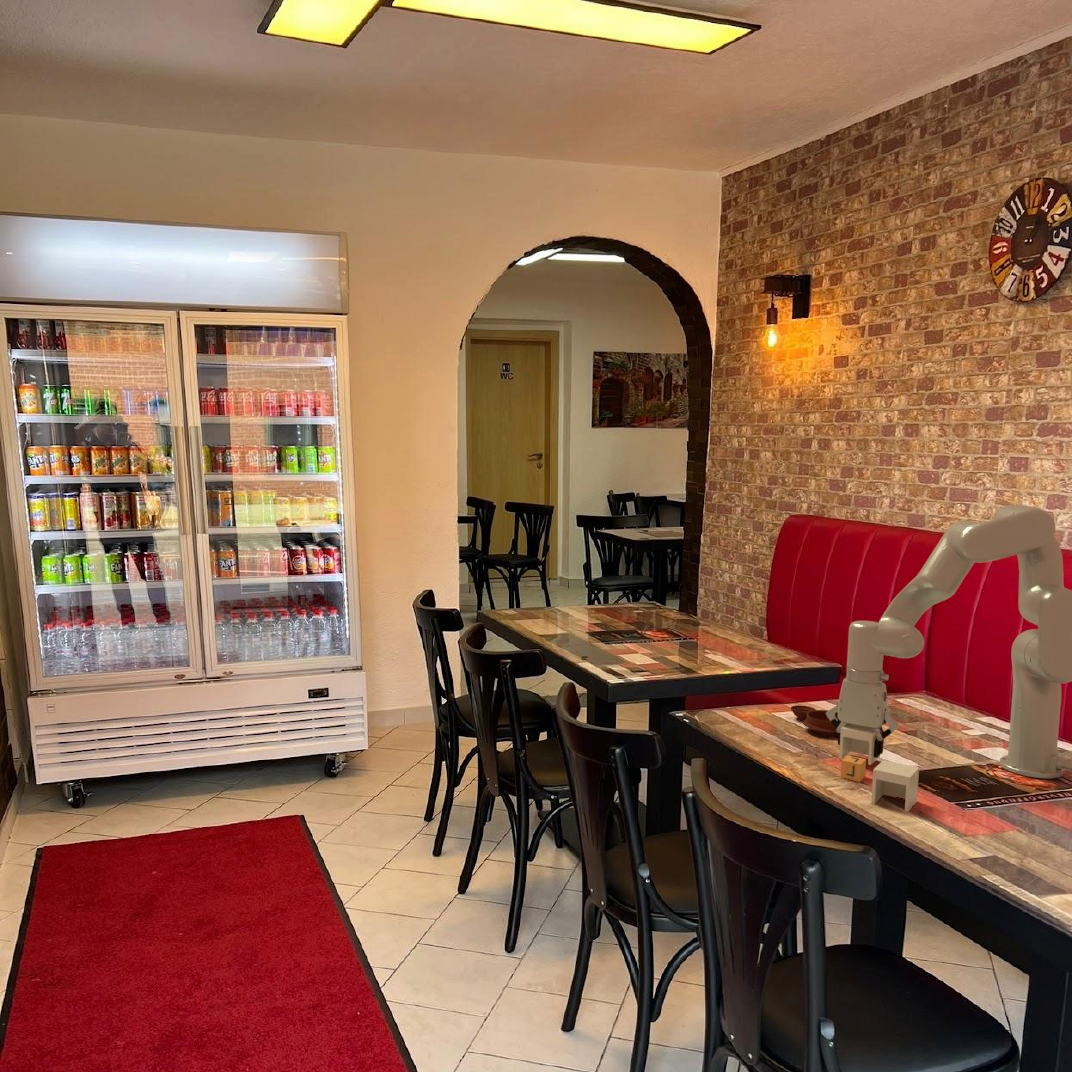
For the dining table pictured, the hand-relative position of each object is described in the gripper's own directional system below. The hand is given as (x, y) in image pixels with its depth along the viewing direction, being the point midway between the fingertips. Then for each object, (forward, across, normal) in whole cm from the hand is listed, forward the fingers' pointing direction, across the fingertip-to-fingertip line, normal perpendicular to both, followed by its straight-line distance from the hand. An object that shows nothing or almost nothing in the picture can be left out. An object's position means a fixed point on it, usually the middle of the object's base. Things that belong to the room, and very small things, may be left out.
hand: (859, 751), depth 204 cm
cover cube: (+1, 0, 0) cm, 1 cm away
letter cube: (+2, -2, +11) cm, 11 cm away
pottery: (+3, +16, -20) cm, 26 cm away
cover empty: (+2, -13, +20) cm, 24 cm away
